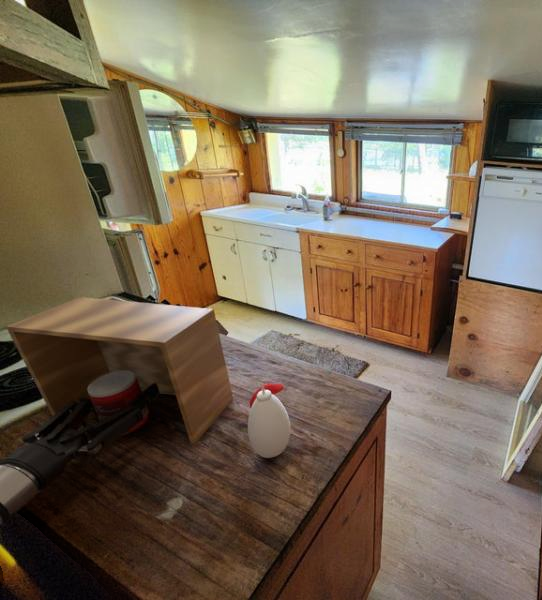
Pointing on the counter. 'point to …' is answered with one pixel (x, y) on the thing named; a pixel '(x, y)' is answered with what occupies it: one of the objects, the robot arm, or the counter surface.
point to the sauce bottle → (268, 425)
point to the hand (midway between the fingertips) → (138, 386)
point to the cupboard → (128, 353)
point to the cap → (271, 387)
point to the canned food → (115, 394)
